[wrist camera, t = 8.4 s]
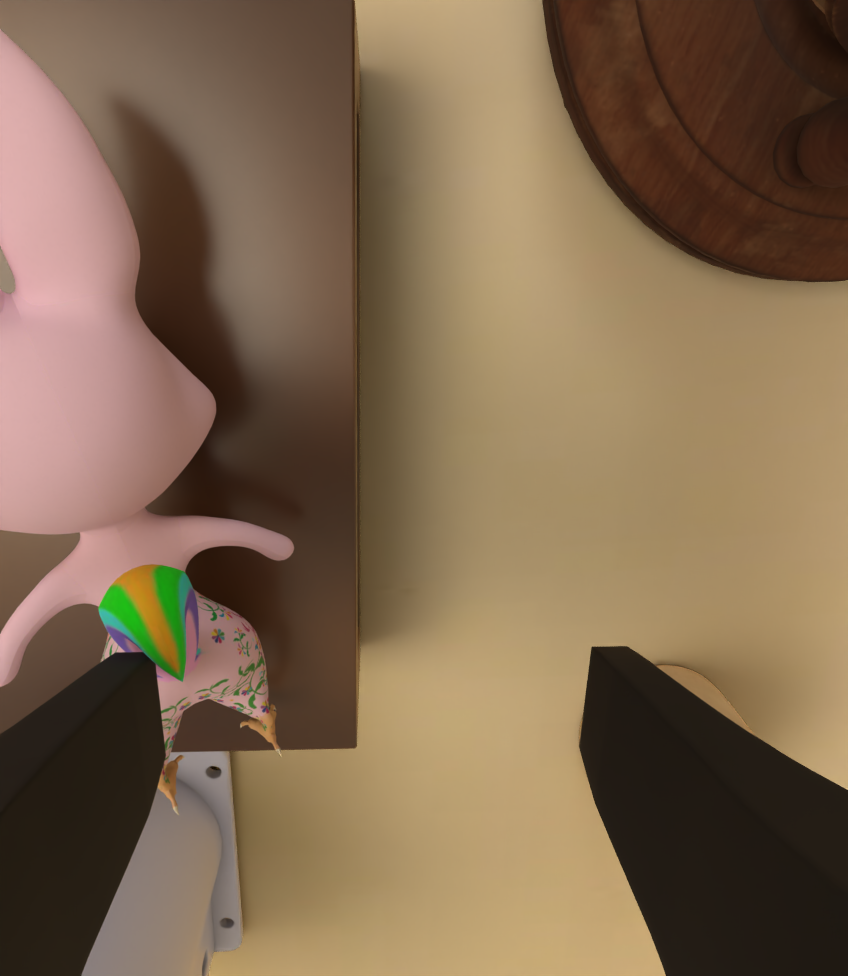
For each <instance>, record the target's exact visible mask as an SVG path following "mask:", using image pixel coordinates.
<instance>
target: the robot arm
mask: <svg viewBox="0 0 848 976" xmlns="http://www.w3.org/2000/svg"><path fill="white" fill-rule="evenodd" d="M579 747H580V751H581V755H582V759H583V762H584V766H585V770H586V774H587V777H588V781H589V784H590V788H591V791H592V794H593V798H594V801H595V804H596V806H597V809H598V811H599V814H600V816H601V819H602V821H603V823H604V826H605V828H606V831H607V833H608V835H609V838H610V840H611V842H612V845H613V847H614V850H615V852H616V854H617V857H618V859H619V861H620V864H621V866H622V868H623V871H624V873H625V875H626V878H627V880H628V882H629V885H630V887H631V889H632V892H633V894H634V896H635V899H636V901H637V903H638V906H639V908H640V910H641V913H642V915H643V917H644V920H645V922H646V924H647V927H648V929H649V931H650V934H651V936H652V939H653V941H654V944H655V947H656V949H657V952H658V954H659V957H660V960H661V962H662V965H663V968H664V971H665V974H666V976H848V790H846V789H845V788H843V787H841V786H839V785H837V784H836V783H834V782H832V781H830V780H828V779H826V778H825V777H823V776H821V775H819V774H817V773H815V772H814V771H812V770H810V769H808V768H806V767H805V766H803V765H801V764H800V763H798V762H796V761H794V760H793V759H791V758H789V757H788V756H786V755H784V754H783V753H781V752H780V751H778V750H776V749H775V748H773V747H772V746H770V745H769V744H767V743H765V742H764V741H762V740H761V739H759V738H758V737H756V736H754V735H753V734H751V733H750V732H748V731H747V730H745V729H744V728H742V727H741V726H739V725H738V724H736V723H735V722H733V721H732V720H730V719H729V718H727V717H726V716H724V715H723V714H722V713H720V712H719V711H717V710H716V709H714V708H713V707H712V706H710V705H709V704H707V703H706V702H705V701H703V700H702V699H700V698H699V697H698V696H696V695H695V694H693V693H692V692H691V691H689V690H688V689H686V688H685V687H684V686H682V685H681V684H680V683H678V682H677V681H676V680H674V679H673V678H671V677H670V676H669V675H667V674H666V673H665V672H663V671H662V670H661V669H659V668H658V667H656V666H655V665H654V664H652V663H651V662H650V661H648V660H647V659H645V658H644V657H642V656H641V655H640V654H638V653H637V652H635V651H633V650H632V649H630V648H629V647H627V646H614V647H592V648H591V656H590V664H589V672H588V680H587V688H586V696H585V704H584V712H583V720H582V728H581V736H580V744H579ZM179 755H183V756H184V757H185V758H183V759H182V760H180V761H179V762H178V770H177V773H176V792H177V793H176V795H175V800H176V802H177V805H178V812H179V815H178V814H177V813H176V812H175V811H174V810H173V807H172V803H171V800H170V799H168V798H167V797H166V795H165V794H164V793H163V792H161V791H160V790H159V788H158V783H159V780H160V776H161V772H162V769H163V765H164V761H165V758H166V751H165V742H164V733H163V724H162V716H161V707H160V698H159V689H158V680H157V672H156V663H154V662H153V661H152V660H151V659H150V658H149V657H148V656H147V655H146V654H145V653H144V652H115V653H114V654H112V655H111V656H109V657H108V658H106V659H105V660H103V661H102V662H100V663H99V664H97V665H96V666H95V667H93V668H92V669H90V670H89V671H88V672H86V673H85V674H84V675H82V676H81V677H79V678H78V679H77V680H75V681H74V682H73V683H71V684H70V685H69V686H67V687H66V688H64V689H63V690H62V691H60V692H59V693H58V694H56V695H55V696H53V697H52V698H51V699H49V700H48V701H47V702H45V703H44V704H42V705H41V706H40V707H38V708H37V709H35V710H34V711H33V712H31V713H30V714H29V715H27V716H26V717H24V718H23V719H22V720H20V721H19V722H17V723H16V724H15V725H13V726H12V727H10V728H9V729H7V730H6V731H4V732H3V733H1V734H0V976H208V975H209V971H210V966H211V962H212V958H213V953H214V952H219V951H232V950H235V949H237V948H239V947H240V945H241V943H242V938H243V921H242V908H241V895H240V882H239V869H238V856H237V843H236V830H235V817H234V804H233V791H232V778H231V765H230V753H229V751H215V752H171V753H170V756H169V760H168V763H169V762H170V761H173V760H175V759H176V758H177V757H178V756H179ZM211 766H216V767H218V768H220V770H212V769H211V768H210V767H211ZM228 918H230V919H228Z"/></svg>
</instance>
